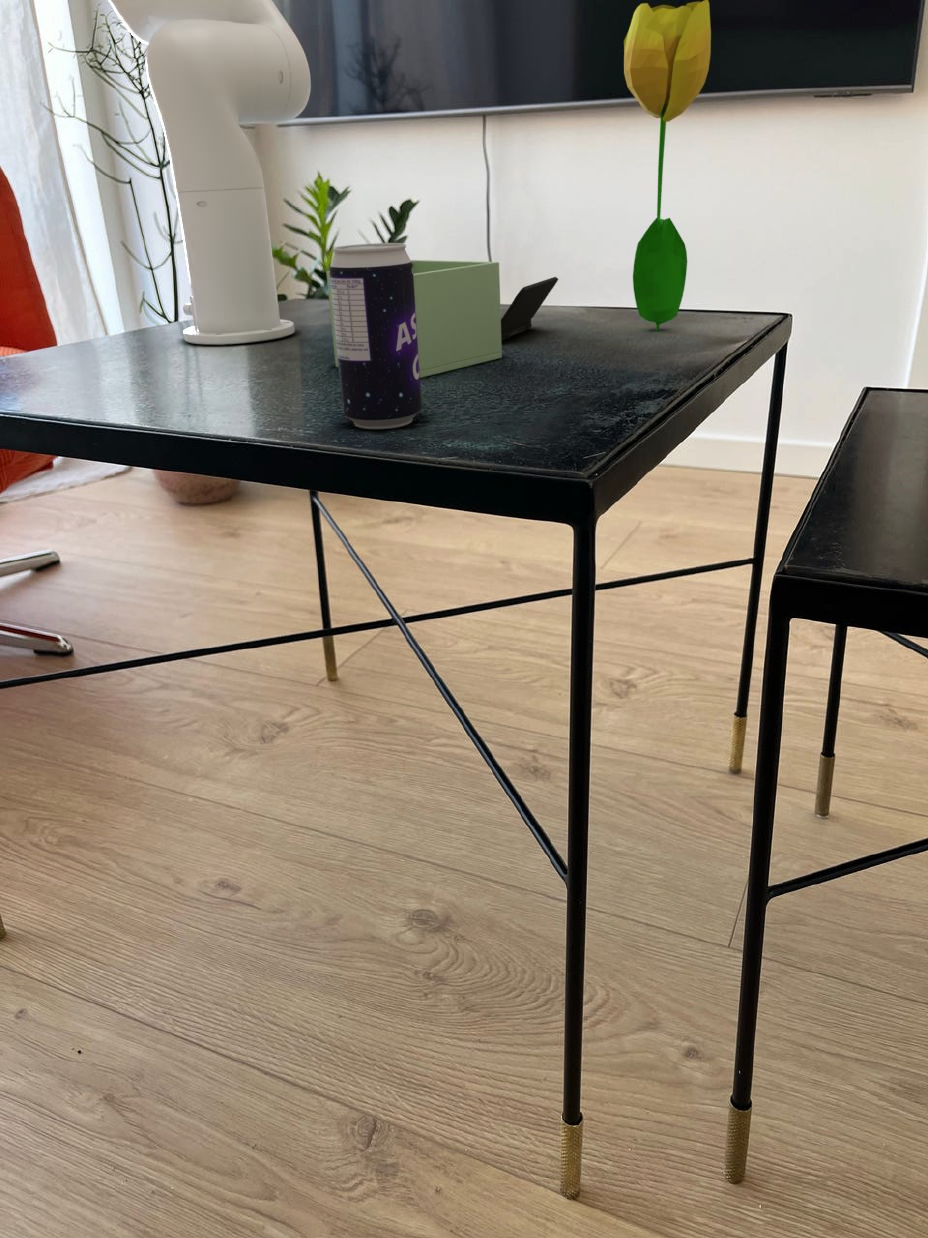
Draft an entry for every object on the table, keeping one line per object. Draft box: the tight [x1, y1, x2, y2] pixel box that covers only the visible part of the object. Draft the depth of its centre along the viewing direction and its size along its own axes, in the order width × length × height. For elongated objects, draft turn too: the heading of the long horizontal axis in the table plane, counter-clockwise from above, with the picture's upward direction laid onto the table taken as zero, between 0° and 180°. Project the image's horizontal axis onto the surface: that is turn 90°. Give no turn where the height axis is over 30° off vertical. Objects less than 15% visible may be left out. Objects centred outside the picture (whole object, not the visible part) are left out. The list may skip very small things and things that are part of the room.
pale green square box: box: [325, 259, 503, 379], centre depth 91 cm, size 11×11×9 cm
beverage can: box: [328, 242, 423, 430], centre depth 69 cm, size 6×6×12 cm
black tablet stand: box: [501, 276, 559, 342], centre depth 104 cm, size 12×7×10 cm
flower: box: [623, 0, 712, 331], centre depth 98 cm, size 9×8×30 cm
